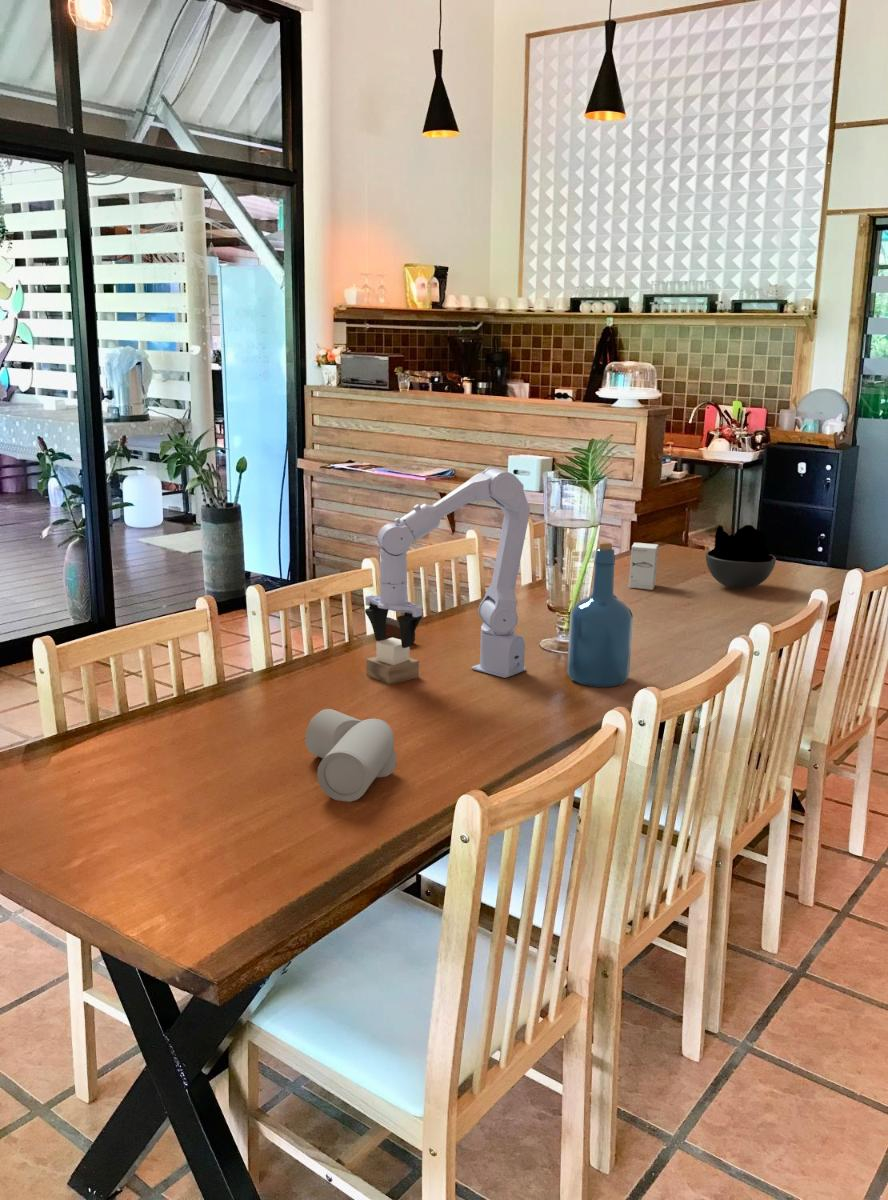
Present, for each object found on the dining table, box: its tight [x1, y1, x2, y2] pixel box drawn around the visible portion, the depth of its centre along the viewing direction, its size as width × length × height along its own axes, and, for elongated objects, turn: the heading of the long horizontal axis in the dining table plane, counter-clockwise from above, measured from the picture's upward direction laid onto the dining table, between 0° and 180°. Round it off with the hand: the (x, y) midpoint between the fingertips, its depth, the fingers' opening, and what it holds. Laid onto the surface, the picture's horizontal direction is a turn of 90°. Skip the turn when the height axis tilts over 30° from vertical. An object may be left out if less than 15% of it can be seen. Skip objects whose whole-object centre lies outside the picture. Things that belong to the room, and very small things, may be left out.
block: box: [375, 637, 411, 665], centre depth 221 cm, size 5×5×4 cm
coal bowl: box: [705, 524, 777, 590], centre depth 305 cm, size 20×20×19 cm
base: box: [365, 656, 420, 685], centre depth 222 cm, size 8×8×4 cm
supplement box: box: [628, 542, 659, 591], centre depth 306 cm, size 7×7×13 cm
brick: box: [383, 616, 416, 645], centre depth 248 cm, size 11×4×5 cm, turn 45°
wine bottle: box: [566, 541, 634, 688], centre depth 220 cm, size 14×13×30 cm
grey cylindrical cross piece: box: [304, 708, 397, 803], centre depth 171 cm, size 18×11×20 cm
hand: (393, 643), depth 221 cm, fingers open, 7 cm apart
